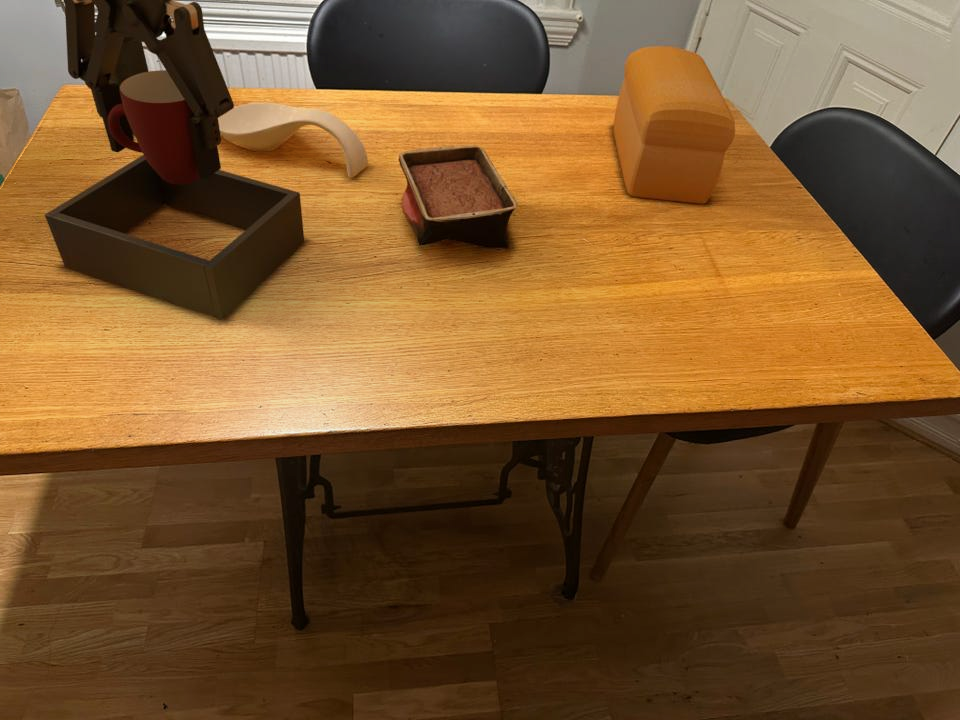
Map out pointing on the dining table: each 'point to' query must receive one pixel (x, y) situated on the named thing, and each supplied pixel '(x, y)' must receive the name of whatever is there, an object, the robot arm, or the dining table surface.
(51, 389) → the dining table surface
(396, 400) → the dining table surface
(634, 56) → the bread
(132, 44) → the candle
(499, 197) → the baking dish
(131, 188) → the dark rectangular frame
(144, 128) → the mug
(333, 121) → the spoon rest
